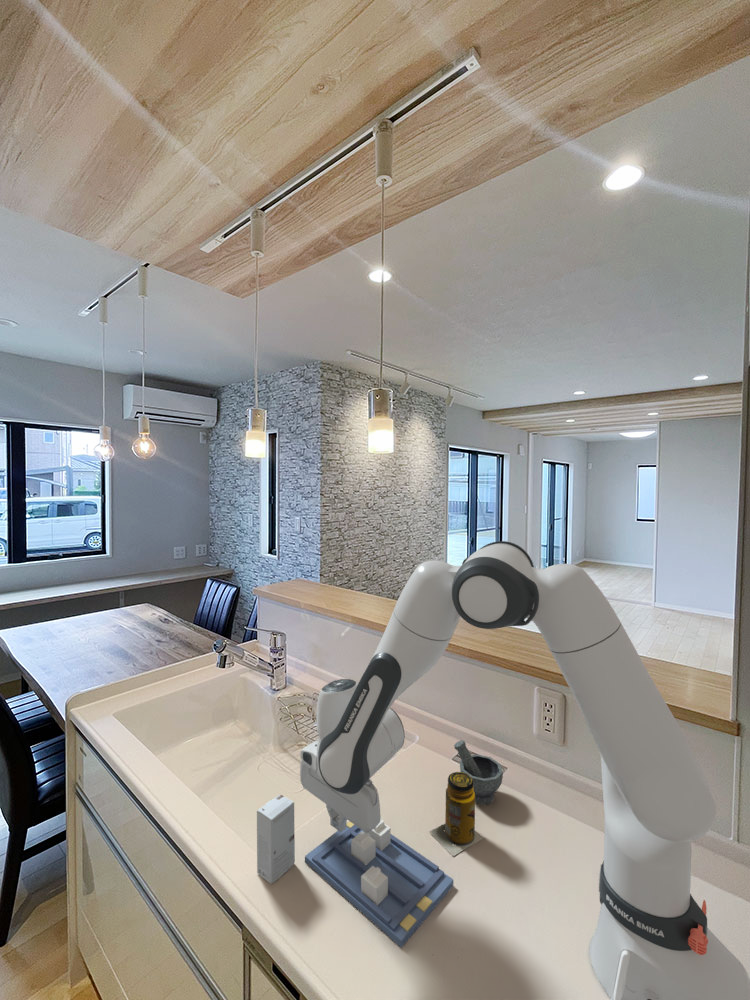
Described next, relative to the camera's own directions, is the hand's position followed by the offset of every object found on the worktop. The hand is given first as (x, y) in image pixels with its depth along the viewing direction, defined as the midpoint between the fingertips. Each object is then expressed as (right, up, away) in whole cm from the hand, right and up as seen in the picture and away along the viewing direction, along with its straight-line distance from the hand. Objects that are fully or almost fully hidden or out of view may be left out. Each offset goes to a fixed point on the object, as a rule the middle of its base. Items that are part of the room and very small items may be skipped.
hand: (338, 827), depth 92 cm
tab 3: (+7, -3, -12) cm, 15 cm away
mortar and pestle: (+32, -3, +15) cm, 35 cm away
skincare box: (-11, -4, -6) cm, 13 cm away
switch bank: (+8, -4, -7) cm, 11 cm away
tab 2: (+5, -2, -4) cm, 7 cm away
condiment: (+24, -4, +2) cm, 25 cm away
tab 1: (+8, -2, -1) cm, 9 cm away
